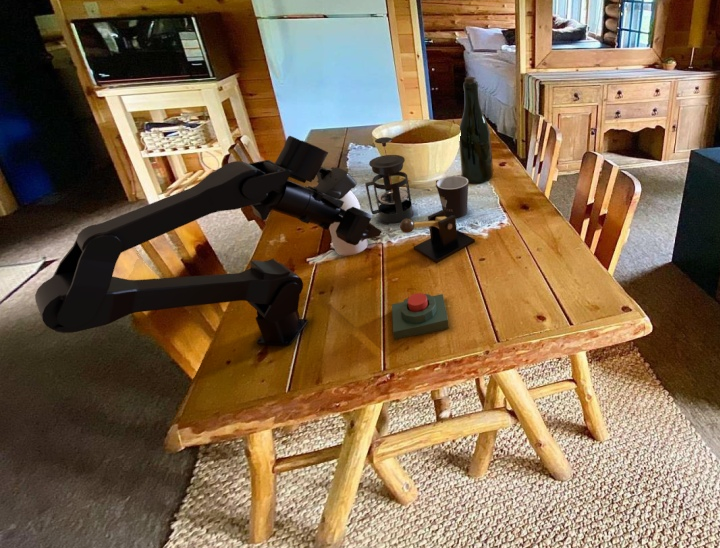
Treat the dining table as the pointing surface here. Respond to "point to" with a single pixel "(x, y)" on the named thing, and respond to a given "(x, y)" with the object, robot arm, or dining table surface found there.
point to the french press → (390, 187)
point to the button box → (419, 318)
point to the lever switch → (443, 239)
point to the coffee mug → (453, 195)
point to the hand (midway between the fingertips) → (367, 226)
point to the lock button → (417, 302)
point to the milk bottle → (339, 244)
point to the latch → (418, 224)
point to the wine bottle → (474, 138)
